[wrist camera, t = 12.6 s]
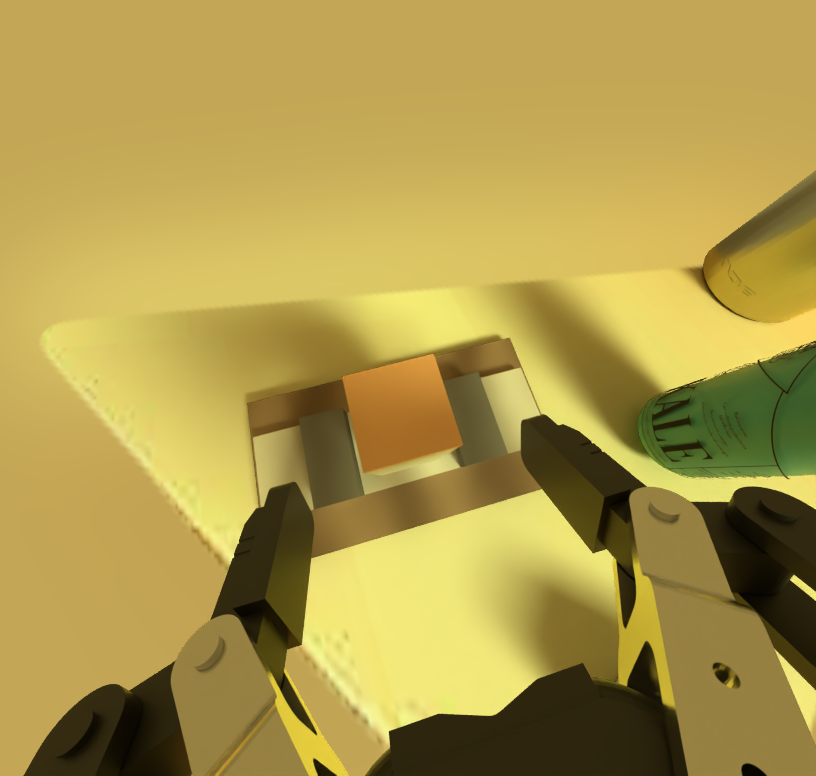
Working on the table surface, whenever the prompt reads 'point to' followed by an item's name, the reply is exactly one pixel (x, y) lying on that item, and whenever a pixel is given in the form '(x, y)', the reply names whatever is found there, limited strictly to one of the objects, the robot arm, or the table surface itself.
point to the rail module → (401, 415)
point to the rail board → (410, 488)
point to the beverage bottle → (738, 421)
